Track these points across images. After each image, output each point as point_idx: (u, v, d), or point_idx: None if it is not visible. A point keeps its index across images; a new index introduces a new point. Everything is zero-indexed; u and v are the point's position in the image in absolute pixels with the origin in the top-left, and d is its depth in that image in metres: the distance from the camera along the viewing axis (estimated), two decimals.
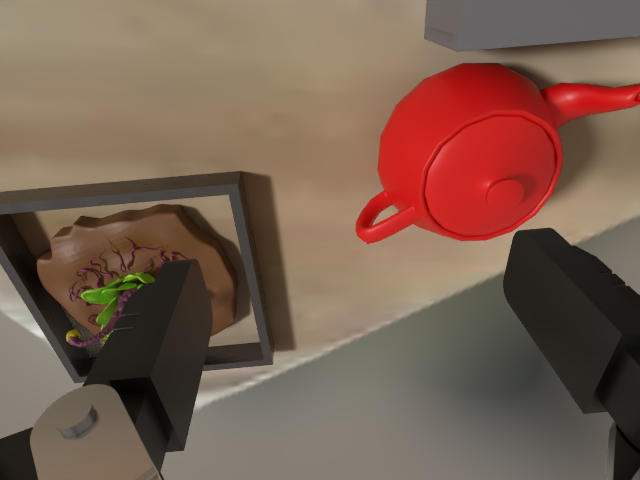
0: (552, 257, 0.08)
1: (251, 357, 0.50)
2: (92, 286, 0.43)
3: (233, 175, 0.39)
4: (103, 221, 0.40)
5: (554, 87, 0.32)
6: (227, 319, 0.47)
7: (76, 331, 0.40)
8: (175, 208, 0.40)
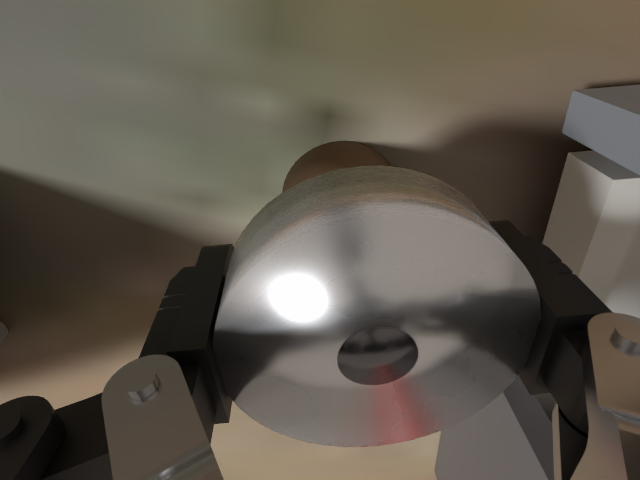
0: None
1: None
2: None
3: None
4: None
5: None
6: None
7: None
8: None
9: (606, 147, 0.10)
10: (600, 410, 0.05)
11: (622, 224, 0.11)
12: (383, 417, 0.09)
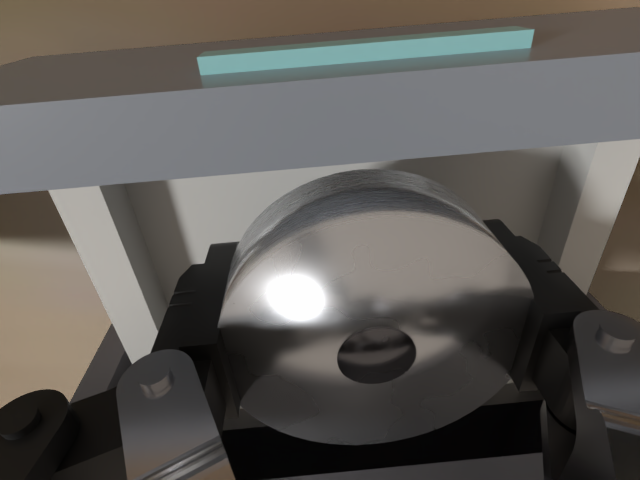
0: None
1: None
2: None
3: None
4: None
5: None
6: None
7: None
8: None
9: None
10: (587, 407, 0.05)
11: (86, 208, 0.10)
12: (382, 415, 0.09)
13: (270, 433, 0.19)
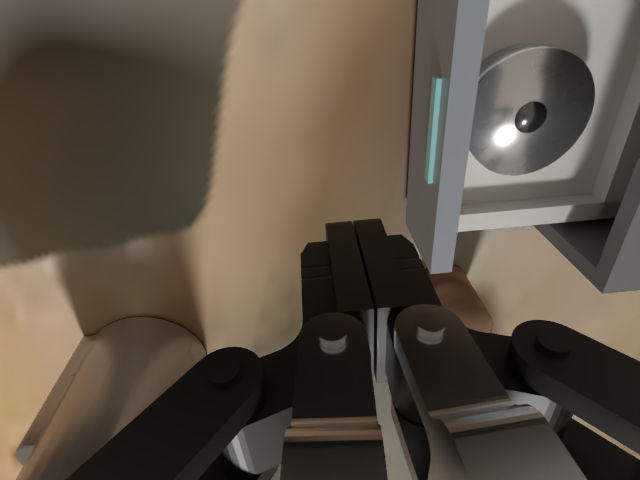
0: (363, 244, 0.09)
1: None
2: None
3: None
4: None
5: None
6: None
7: None
8: None
9: None
10: (430, 417, 0.05)
11: (466, 221, 0.24)
12: (571, 110, 0.20)
13: None
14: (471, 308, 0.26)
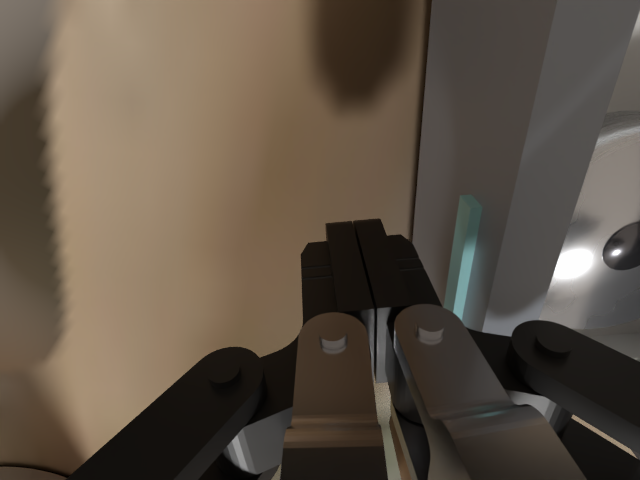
0: (362, 244, 0.09)
1: None
2: None
3: None
4: None
5: None
6: None
7: None
8: None
9: None
10: (430, 416, 0.05)
11: None
12: None
13: None
14: None
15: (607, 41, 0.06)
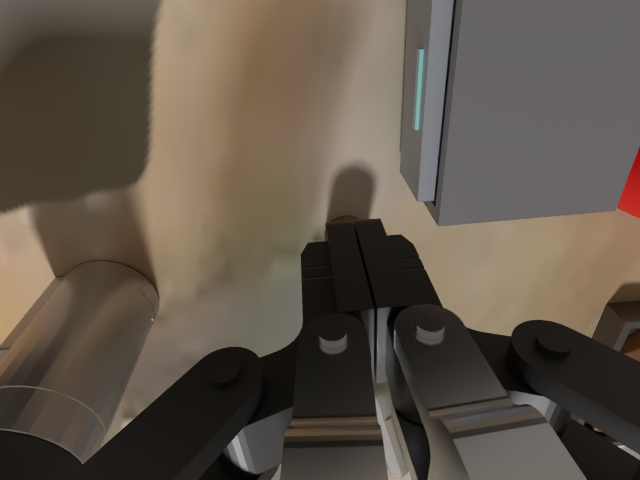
0: (362, 244, 0.09)
1: None
2: None
3: (611, 314, 0.45)
4: None
5: None
6: None
7: None
8: None
9: None
10: (430, 417, 0.05)
11: None
12: None
13: None
14: None
15: None
